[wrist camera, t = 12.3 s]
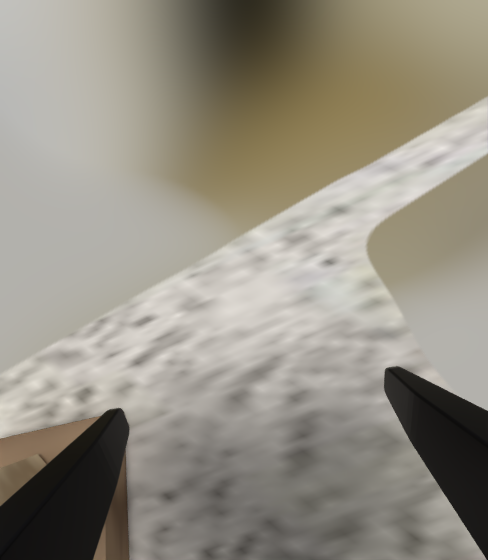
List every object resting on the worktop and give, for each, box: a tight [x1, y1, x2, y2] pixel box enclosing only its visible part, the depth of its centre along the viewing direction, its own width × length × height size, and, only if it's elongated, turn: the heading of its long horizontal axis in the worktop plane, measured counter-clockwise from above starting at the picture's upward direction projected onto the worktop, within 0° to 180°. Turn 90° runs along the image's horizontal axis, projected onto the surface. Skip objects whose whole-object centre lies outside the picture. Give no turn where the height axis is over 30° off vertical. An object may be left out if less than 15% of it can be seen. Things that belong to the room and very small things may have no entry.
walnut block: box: [0, 416, 129, 560], centre depth 19 cm, size 10×10×4 cm
